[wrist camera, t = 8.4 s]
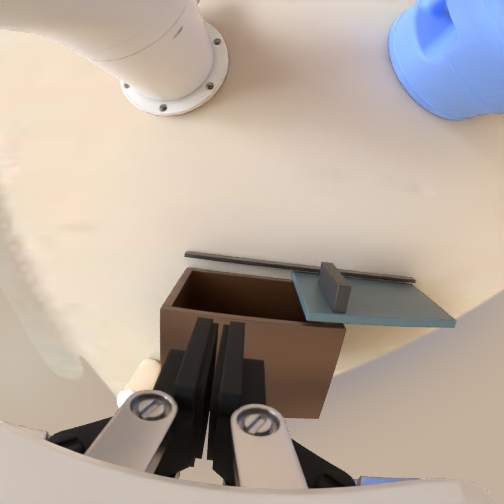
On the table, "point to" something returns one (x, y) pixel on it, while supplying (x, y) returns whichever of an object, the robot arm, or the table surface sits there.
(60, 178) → the table surface
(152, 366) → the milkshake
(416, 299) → the glass door
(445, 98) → the water jug
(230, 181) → the table surface
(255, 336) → the cabinet
